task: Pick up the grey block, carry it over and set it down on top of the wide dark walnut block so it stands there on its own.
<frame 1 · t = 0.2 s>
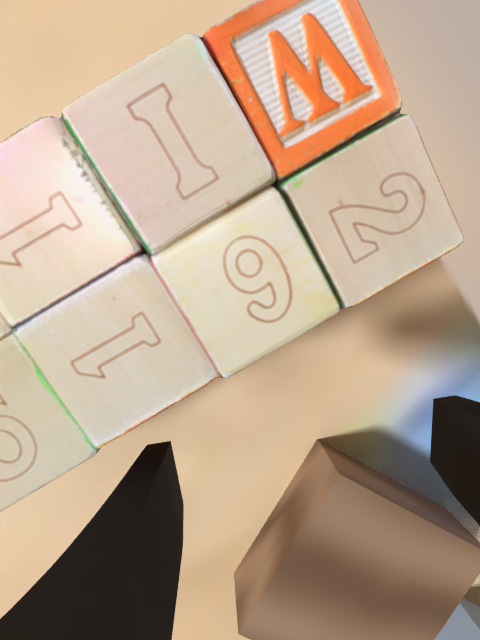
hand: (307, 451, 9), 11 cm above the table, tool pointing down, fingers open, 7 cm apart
walnut base: (339, 536, 22), on the table
grey block: (457, 630, 23), on the table
stack of blocks: (119, 310, 19), on the table
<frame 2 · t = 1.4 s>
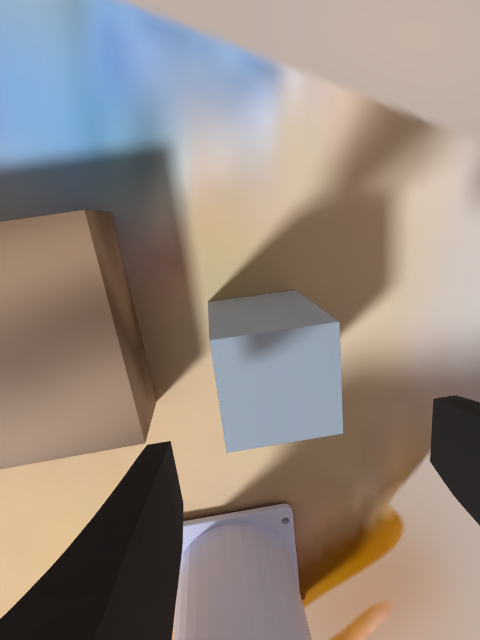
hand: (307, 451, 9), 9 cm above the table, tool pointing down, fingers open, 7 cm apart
walnut base: (38, 328, 17), on the table
grey block: (256, 337, 18), on the table
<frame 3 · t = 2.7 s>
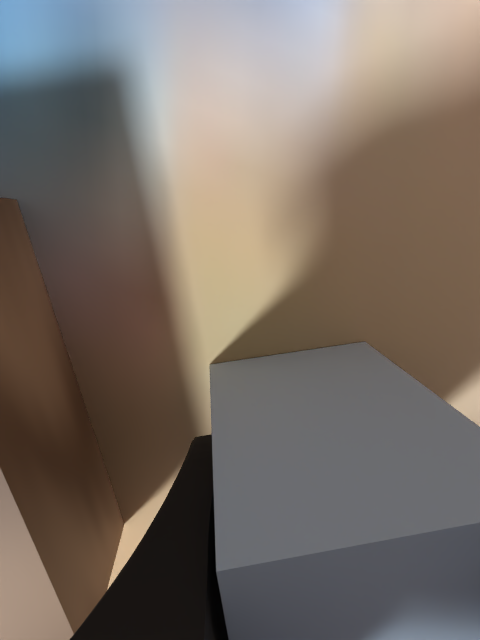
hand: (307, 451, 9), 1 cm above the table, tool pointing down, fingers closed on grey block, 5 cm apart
grey block: (293, 421, 10), on the table, touching gripper
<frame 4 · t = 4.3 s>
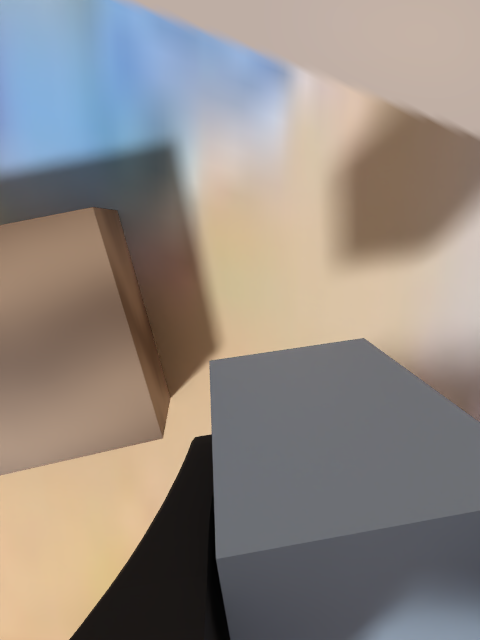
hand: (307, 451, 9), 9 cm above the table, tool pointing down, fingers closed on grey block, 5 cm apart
walnut base: (50, 330, 17), on the table
grey block: (293, 417, 11), point 8 cm above the table, touching gripper
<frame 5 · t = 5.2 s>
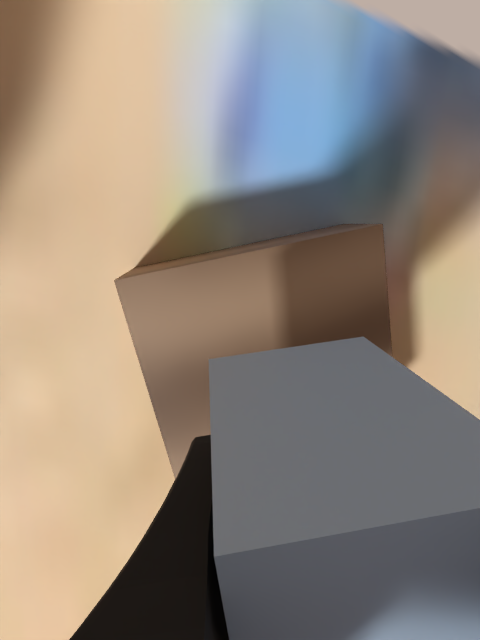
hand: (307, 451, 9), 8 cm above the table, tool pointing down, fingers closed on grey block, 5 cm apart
walnut base: (258, 341, 18), on the table
grey block: (292, 416, 11), point 7 cm above the table, touching gripper
when the fingers open (7 cm above the table, at t = 5.9 s): grey block drops 2 cm, resting on walnut base.
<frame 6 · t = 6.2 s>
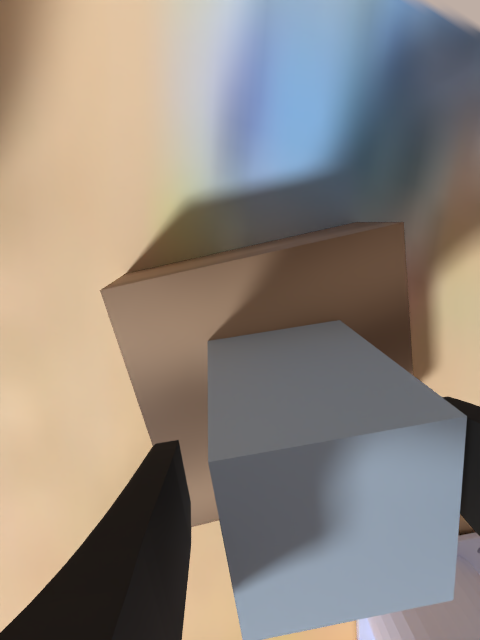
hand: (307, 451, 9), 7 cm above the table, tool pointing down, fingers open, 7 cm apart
walnut base: (262, 351, 16), on the table, touching grey block
grey block: (280, 389, 12), point 4 cm above the table, touching walnut base
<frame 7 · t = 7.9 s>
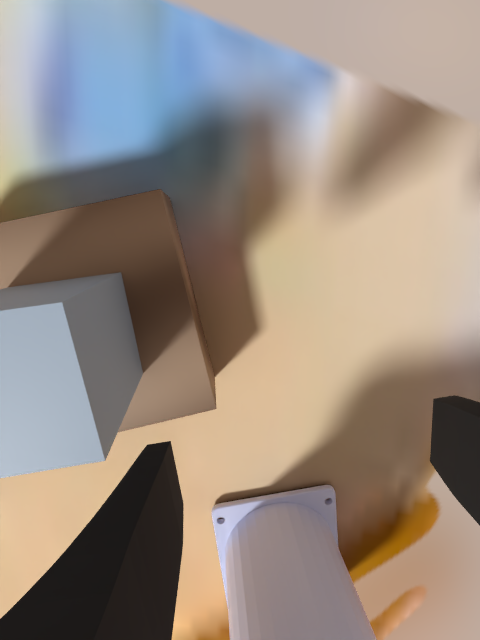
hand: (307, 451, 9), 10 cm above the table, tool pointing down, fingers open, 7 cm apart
walnut base: (104, 312, 18), on the table, touching grey block
grey block: (78, 332, 15), point 4 cm above the table, touching walnut base
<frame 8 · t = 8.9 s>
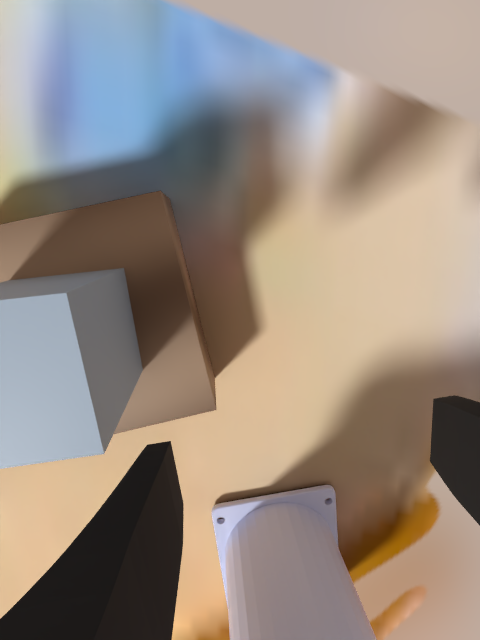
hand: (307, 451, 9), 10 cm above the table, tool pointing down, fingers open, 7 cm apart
walnut base: (104, 314, 18), on the table
grey block: (79, 327, 15), point 4 cm above the table
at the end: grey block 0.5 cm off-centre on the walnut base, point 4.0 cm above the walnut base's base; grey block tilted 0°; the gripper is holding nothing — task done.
